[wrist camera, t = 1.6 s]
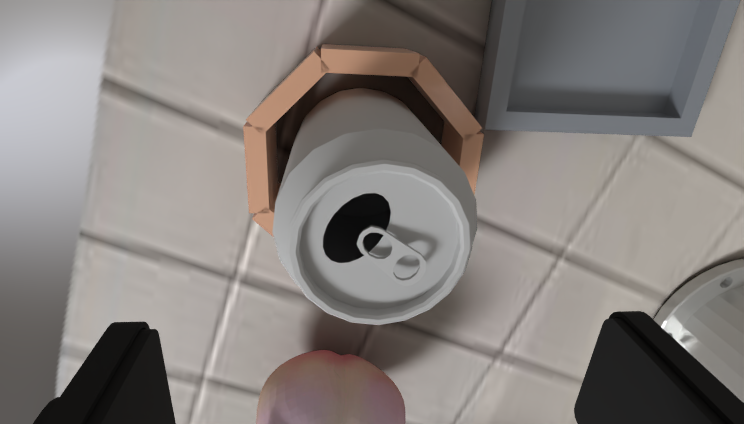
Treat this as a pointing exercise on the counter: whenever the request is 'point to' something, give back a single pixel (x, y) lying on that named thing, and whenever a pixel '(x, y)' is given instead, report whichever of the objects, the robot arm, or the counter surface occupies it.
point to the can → (372, 211)
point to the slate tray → (600, 65)
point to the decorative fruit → (329, 392)
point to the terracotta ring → (261, 124)
